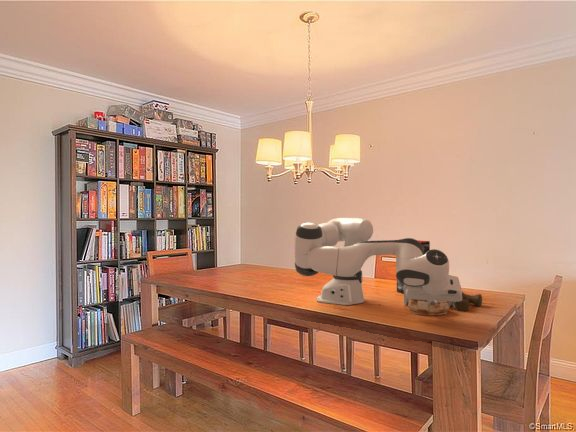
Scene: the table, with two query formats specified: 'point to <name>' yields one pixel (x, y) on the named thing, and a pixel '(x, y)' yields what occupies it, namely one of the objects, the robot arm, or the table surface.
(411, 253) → the robot arm
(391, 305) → the table surface
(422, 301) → the trinket box
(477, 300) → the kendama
